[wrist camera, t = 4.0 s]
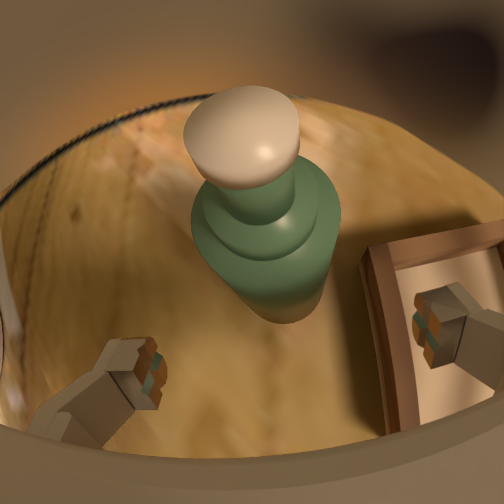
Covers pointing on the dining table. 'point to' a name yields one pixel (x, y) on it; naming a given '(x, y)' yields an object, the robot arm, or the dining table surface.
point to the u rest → (402, 309)
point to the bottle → (261, 202)
